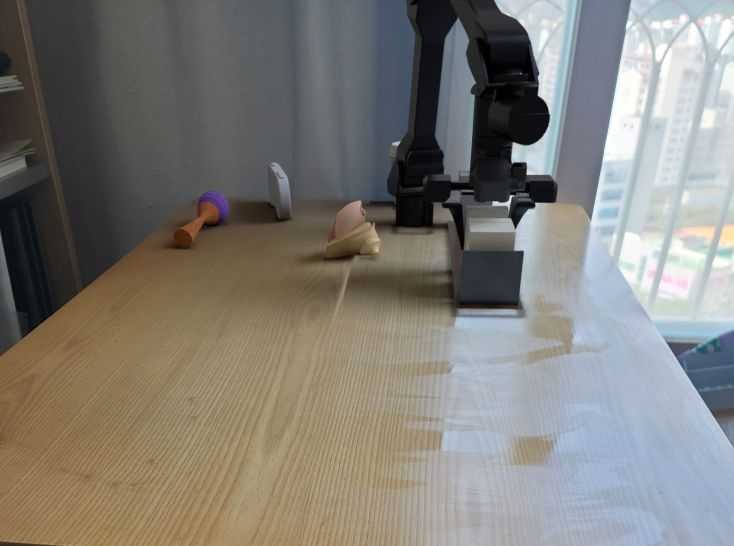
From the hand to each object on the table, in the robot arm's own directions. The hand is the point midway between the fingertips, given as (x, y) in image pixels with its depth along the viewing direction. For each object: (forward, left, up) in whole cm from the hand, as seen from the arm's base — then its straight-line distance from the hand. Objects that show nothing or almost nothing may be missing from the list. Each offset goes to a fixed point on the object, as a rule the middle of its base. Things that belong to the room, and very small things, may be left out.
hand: (483, 249), depth 112 cm
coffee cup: (-12, +46, -4) cm, 48 cm away
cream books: (0, -9, -3) cm, 10 cm away
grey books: (0, +27, -3) cm, 28 cm away
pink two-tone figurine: (-21, +11, -4) cm, 24 cm away
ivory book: (0, 0, -3) cm, 3 cm away
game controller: (-38, +42, -4) cm, 57 cm away
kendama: (-49, +25, -4) cm, 56 cm away
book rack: (0, +7, -4) cm, 9 cm away
